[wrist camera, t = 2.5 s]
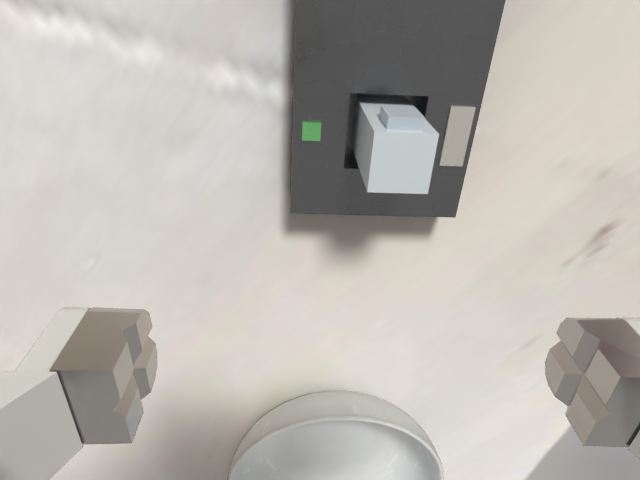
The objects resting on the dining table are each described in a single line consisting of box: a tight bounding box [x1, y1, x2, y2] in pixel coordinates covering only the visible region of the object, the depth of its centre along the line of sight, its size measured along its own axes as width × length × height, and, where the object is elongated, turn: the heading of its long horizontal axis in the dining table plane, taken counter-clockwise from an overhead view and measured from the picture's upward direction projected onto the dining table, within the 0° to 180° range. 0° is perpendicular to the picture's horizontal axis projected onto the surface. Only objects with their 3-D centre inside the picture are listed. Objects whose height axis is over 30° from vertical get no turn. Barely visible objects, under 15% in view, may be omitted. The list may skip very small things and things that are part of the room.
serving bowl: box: [227, 391, 444, 480], centre depth 47 cm, size 21×21×7 cm
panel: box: [291, 0, 505, 217], centre depth 27 cm, size 26×12×3 cm, turn 177°
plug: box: [351, 96, 439, 194], centre depth 28 cm, size 4×4×8 cm
